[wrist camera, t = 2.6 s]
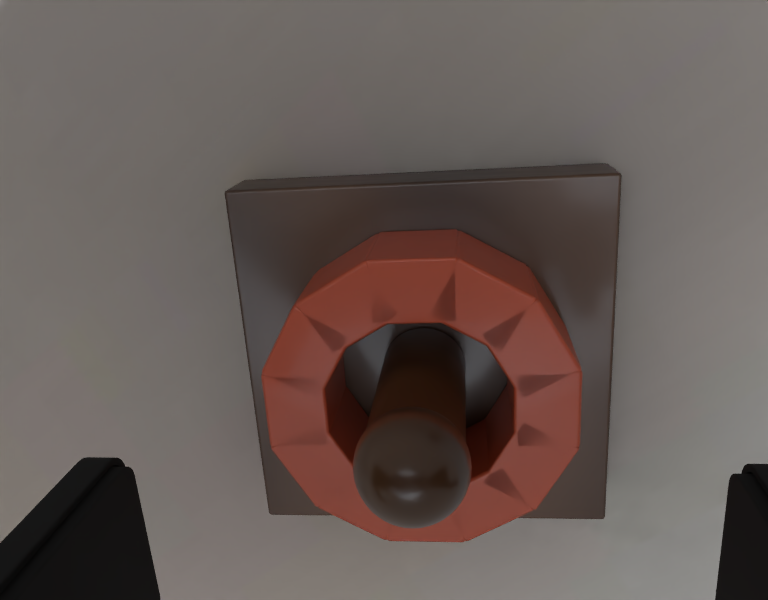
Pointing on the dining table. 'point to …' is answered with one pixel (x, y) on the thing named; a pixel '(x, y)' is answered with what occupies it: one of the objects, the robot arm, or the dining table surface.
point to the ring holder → (434, 340)
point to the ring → (426, 305)
